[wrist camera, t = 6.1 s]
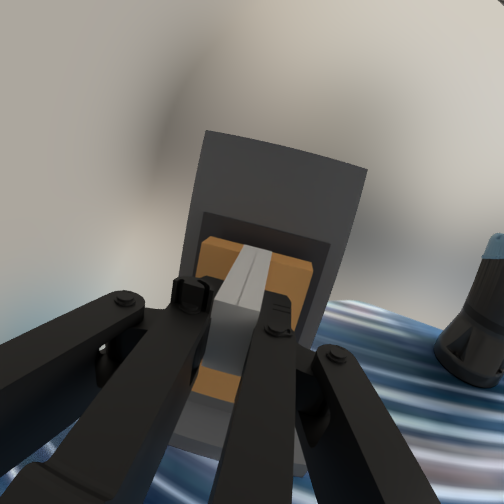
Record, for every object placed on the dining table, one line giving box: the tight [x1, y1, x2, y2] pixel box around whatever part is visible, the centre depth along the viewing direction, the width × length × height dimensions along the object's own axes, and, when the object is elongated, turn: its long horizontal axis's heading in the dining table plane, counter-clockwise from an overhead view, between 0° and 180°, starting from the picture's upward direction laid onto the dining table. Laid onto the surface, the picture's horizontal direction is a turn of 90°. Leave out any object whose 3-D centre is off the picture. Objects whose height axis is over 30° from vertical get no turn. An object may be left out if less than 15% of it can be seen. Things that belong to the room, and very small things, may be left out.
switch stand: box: [168, 130, 367, 477], centre depth 23 cm, size 12×16×23 cm
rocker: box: [191, 236, 313, 403], centre depth 18 cm, size 2×6×10 cm, turn 81°
